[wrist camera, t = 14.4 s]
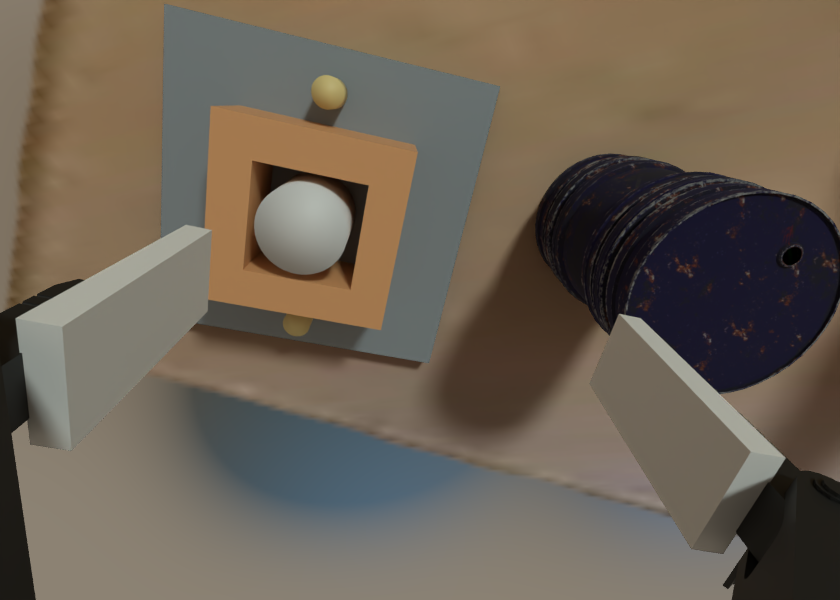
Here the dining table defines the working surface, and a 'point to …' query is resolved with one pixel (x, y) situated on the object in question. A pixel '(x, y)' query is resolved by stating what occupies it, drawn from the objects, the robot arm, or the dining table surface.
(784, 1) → the dining table surface
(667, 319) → the storage jar
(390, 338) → the post board
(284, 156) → the square frame
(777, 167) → the dining table surface
